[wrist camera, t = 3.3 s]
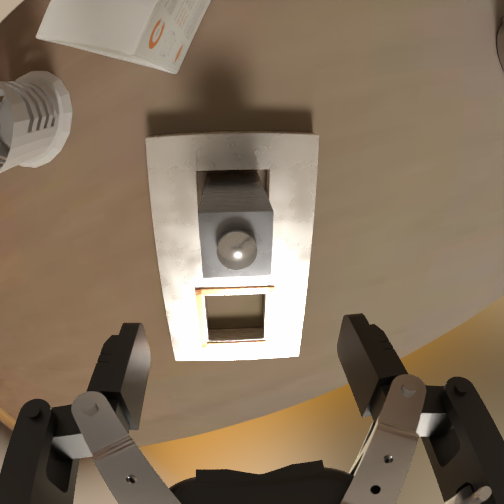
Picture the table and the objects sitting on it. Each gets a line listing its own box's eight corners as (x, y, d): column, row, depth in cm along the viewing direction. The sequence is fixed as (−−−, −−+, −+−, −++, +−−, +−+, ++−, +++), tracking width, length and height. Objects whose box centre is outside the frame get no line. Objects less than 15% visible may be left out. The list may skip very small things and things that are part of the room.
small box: (147, -20, 19) (97, -86, 7) (214, -4, 20) (207, -76, 9) (111, 59, 22) (31, 39, 10) (177, 76, 23) (135, 57, 12)
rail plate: (150, 135, 25) (145, 138, 23) (312, 132, 26) (319, 135, 24) (177, 348, 36) (175, 361, 34) (295, 344, 37) (298, 357, 35)
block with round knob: (207, 174, 27) (197, 217, 18) (257, 173, 28) (275, 216, 18) (209, 221, 29) (202, 284, 20) (256, 219, 30) (272, 282, 20)
